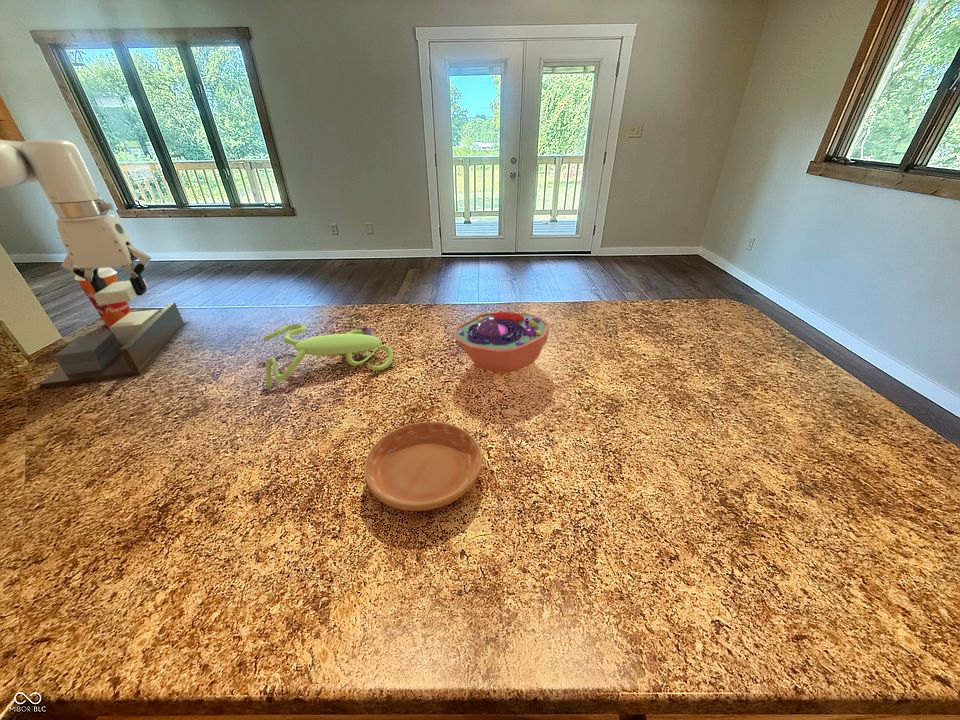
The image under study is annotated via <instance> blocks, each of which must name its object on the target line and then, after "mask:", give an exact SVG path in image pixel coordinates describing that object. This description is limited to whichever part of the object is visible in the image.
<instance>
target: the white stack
mask: <svg viewBox="0 0 960 720" xmlns="http://www.w3.org/2000/svg"><path fill="white" fill-rule="evenodd" d="M160 311H161V310H159V309H151V310H149V309H148V310H140V311H131V312H130V313H128V314H127V315H126V316H124V317H123V318H122V319H120V320H119V321H117V322H116V323H115V324H113V325H112V326H110V327H108V329H110V330H111V332H113V333H114V335H115V337H116V338H117V340H118V341H119V342H120V344H121V345H124V344H126V343H127V342H128V341H129V340H130V339H131V338H132V337H134V336H135V335H136V334H137V333H138V332H139V331H140V330H141V329H142V328H143V327H144V326H145V325H146V324H147V323H148V322H150V321H151V320H152V319H153V318H154V317H155V316H156V315H157V314H158V313H159V312H160Z"/></svg>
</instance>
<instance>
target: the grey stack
mask: <svg viewBox="0 0 960 720" xmlns="http://www.w3.org/2000/svg"><path fill="white" fill-rule="evenodd" d="M121 348H122V346H121V344H120V342H119V341H118V340H117V338H116V337H115V335H114V333H113V332H109V333H104V332H101V333H94V334H85V335H78V336H77V337H75V339H73V340H72V341H71V342H70V343H69V344H67V345H66V346H65V347H64V348H62V349H61V350H60V351H58V352H57V353H56V354H55V355H54V357H55V359H56V360H57V362H58V364H59V366H60V367H61V368H62V369H63V371H64V372H65V374H66V375H69V374H76V373H84V372H91V371H99V370H103V369H104V368H105V367H106V366H107V365H108V364H109V363H110V362H111V361H113V360H114V359H115V358H116V357H117V356H118V355H119V354H120V353H121V351H120V349H121Z"/></svg>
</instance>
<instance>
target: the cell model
mask: <svg viewBox="0 0 960 720" xmlns="http://www.w3.org/2000/svg"><path fill="white" fill-rule="evenodd" d="M549 331H550V324H549V322H547V321H546V320H545V319H543V317H540V316H538V315H534V314H530V313H522V312H521V313H519V312H514V311H505V310H504V311H489V312H483V313H479V314H477V315H475V316H474V317H472V318H470V319H469V320H467V321H464V322H462V323H460V324H459V325H458V326H457V327H456V328H455V329H454V331H453V337H454V339H455V340H456V342H457V343H458V345H459V346H460V348H462V350H463V351H464V353H465V354H466V355H467V356H468V358H469V359H470V360H471V361H472V362H473V364H474V366H475V367H476V368H477V369H479V370H484V371H491V372H496V373H503V374H504V373H505V374H509V373H514V372H517V371H519V370H521V369H523V368H526V367H528V366H530V365H532V364H533V363H534V362H536V361H537V359H538V358H539V356H540V355H541V352H542V350H543V348H544V346H545V345H546V343H547V341H548V338H549Z"/></svg>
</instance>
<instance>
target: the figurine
mask: <svg viewBox="0 0 960 720" xmlns="http://www.w3.org/2000/svg"><path fill="white" fill-rule="evenodd" d="M307 330H308V329H307V327H306V326H305V325H304V324H297V323H296V324H287V325H285V326H282V327H281V328H279V329H277V330H275V331H272V332H270V333H267V334H266V335H264V336H263V337H262V338H263V342H264V343H265V342H267V341H269V340H272V339H274V338H276V337H278V336H279V335H280V336H281V335H282V334H283V333H284V336H283V342H284V343H286V344H288V345H291V346H293V347H294V349H295V350H296V351H297V352H298V353H296V356H295V358H294V359H293V360H292V361H291V363H290V364H289V365H288V367H287V368H286V370H285V371H284V372H283V373H282V374H280V372H279V369H278V363H277V360H276V358H274V357H269V358H267V360H266V363H265V377H266V383H267V386H268V387H272V386H273V385H274V384H273V379H272V368H273V376H274V378H275V379H277V381H279V382H282V381H286V380H287V379H288V378H290V376H291V375H292V374H293V372H294V371H295V370H296V368H297V367H298V366H299V364H300V363H301V361H302V360H303V358H304V357H305V355H311V356H317V357H318V356H320V357H322V356H323V357H324V356H326V357H328V359H330V360H332V359H334V358H335V357H337V356H345V359H346V362H347V363H348V364H349V365H350V366H352V367H357V366H361V365H362V364H364V363H365V362H367V361H368V360H369V359H370V358H371V357H372V356H373V355H374V354H375V353H376V352H377V351H378V350H384V351H386V355H387V358H386V359H385V362H383V363H382V364H380V365H372V364H371V363H370V362H368V363H367V366H368V368H369V369H370V370H372V371H376V372H377V371H384V370H386V369H388V368H389V367H390V366H391V364H392V363H393V361H394V352H393V349H392V348H391V347H390V346H389V345H386V344H383V345H382V342H383V341H382V339H381V338H379V337H378V336H376V335H375V327H362V328H361V329H358V328H354V329H353V330H350V331H347V332H346V333H334V334H326V335H317V336H313V337H310V338H307V339H303V340H298V339H297V340H296V339H293V338H292V337H293V336H296V335H300V334H304V333H306V332H307ZM371 350H374V351H372V352H371V353H370V351H371ZM369 353H370V354H369ZM357 354H360V355H361V356H362V357H364V358H363V360H360V361H356V360H354V359H353V355H354V356H357ZM272 366H273V367H272Z"/></svg>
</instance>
